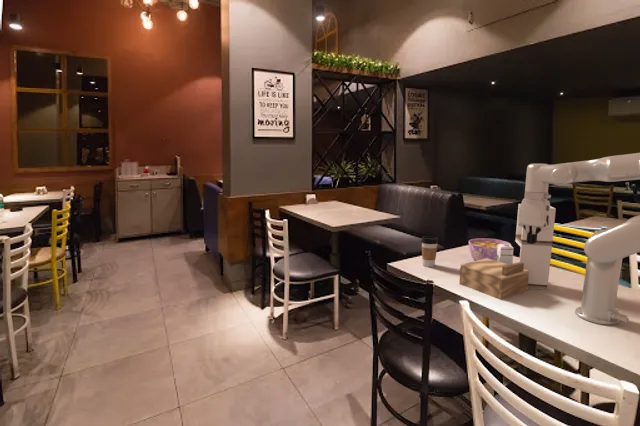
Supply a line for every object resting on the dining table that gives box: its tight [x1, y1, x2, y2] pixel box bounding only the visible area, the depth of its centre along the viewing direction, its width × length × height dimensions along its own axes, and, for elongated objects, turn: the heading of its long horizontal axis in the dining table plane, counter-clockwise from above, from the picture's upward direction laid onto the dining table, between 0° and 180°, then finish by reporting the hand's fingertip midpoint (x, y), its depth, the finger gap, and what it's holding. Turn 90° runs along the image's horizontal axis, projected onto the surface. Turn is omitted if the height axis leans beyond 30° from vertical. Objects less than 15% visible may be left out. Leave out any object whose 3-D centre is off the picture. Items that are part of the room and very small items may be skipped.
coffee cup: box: [420, 235, 439, 268], centre depth 189 cm, size 8×8×15 cm
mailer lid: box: [460, 258, 529, 280], centre depth 158 cm, size 20×18×4 cm
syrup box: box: [497, 244, 514, 265], centre depth 173 cm, size 6×6×14 cm
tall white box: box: [514, 203, 557, 291], centre depth 160 cm, size 11×11×35 cm
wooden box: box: [459, 266, 529, 300], centre depth 159 cm, size 20×18×8 cm
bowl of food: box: [468, 237, 512, 261], centre depth 190 cm, size 20×20×12 cm
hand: (531, 243), depth 143 cm, fingers closed
